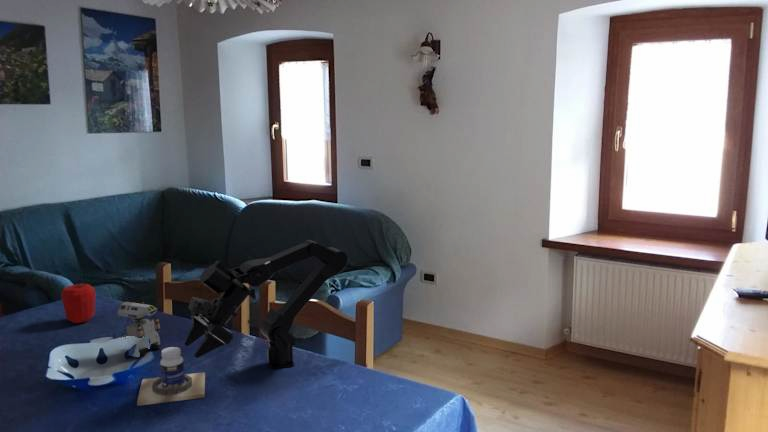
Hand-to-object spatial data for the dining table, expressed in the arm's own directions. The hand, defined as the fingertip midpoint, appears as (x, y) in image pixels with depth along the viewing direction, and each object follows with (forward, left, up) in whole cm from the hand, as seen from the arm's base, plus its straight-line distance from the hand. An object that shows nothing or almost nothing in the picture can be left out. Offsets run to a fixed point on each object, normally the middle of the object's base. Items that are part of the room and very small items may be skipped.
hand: (190, 350), depth 163 cm
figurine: (+16, -28, -10) cm, 33 cm away
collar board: (+5, +1, -10) cm, 11 cm away
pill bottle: (+5, +2, -9) cm, 10 cm away
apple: (+38, -61, -10) cm, 72 cm away
